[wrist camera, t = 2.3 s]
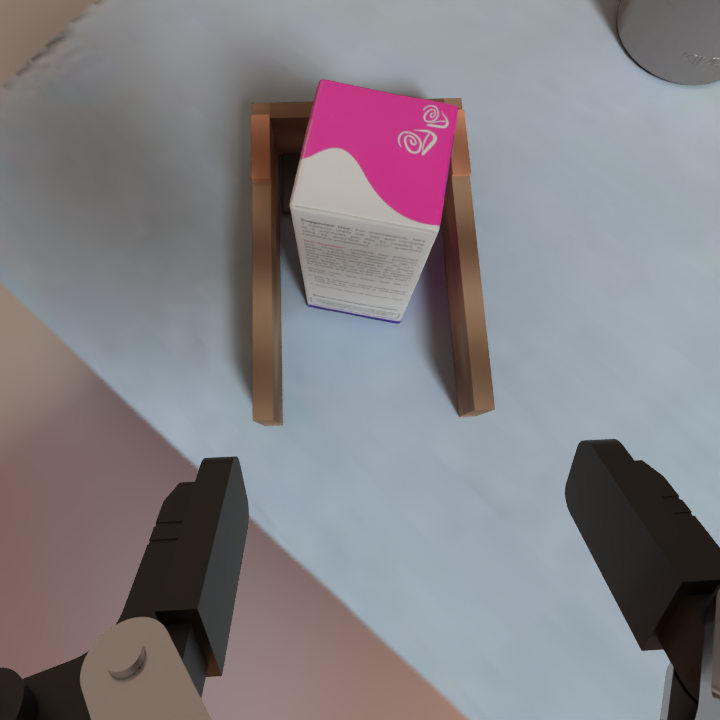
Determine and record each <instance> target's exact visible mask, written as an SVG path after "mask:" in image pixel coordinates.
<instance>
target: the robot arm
mask: <svg viewBox="0 0 720 720" xmlns="http://www.w3.org/2000/svg"><path fill="white" fill-rule="evenodd" d="M617 26H618V32H619V36H620V38H621V40H622V43H623V45H624V47H625V48H626V50H627V51H628V53H629V54H630V55H631V57H632V58H633V59H634V60H635V61H636V62H637V63H638V64H639V65H641V66H642V67H643V68H644V69H646V70H648V71H649V72H651V73H652V74H654V75H656V76H658V77H660V78H663V79H665V80H667V81H671V82H675V83H679V84H686V85H701V84H710V83H713V82H716V81H719V80H720V0H622V1H621V4H620V7H619V10H618V15H617ZM565 497H566V503H567V507H568V509H569V512H570V514H571V516H572V518H573V520H574V522H575V523H576V525H577V527H578V529H579V531H580V533H581V535H582V537H583V539H584V541H585V543H586V545H587V547H588V548H589V550H590V552H591V554H592V556H593V558H594V560H595V562H596V564H597V566H598V568H599V570H600V571H601V573H602V575H603V577H604V579H605V581H606V583H607V585H608V587H609V589H610V591H611V593H612V595H613V596H614V598H615V600H616V602H617V604H618V606H619V608H620V610H621V612H622V614H623V616H624V618H625V619H626V621H627V623H628V625H629V627H630V629H631V631H632V633H633V635H634V637H635V639H636V641H637V643H638V644H639V646H640V648H641V650H642V651H646V650H662V649H664V651H665V653H666V654H667V656H668V658H669V660H670V664H669V665H668V667H667V671H666V678H665V685H664V692H663V700H662V707H661V715H660V720H720V547H719V546H718V545H717V544H716V542H715V541H714V540H713V539H712V537H711V536H710V535H709V533H708V532H707V531H706V530H705V528H704V527H703V526H702V525H701V523H700V522H699V521H698V519H697V518H696V517H695V516H692V514H691V511H690V509H689V508H688V507H687V505H686V504H685V503H684V502H683V500H680V499H679V495H678V494H677V493H676V491H675V490H674V489H673V488H672V486H671V485H670V484H669V483H668V481H667V480H666V479H665V478H664V476H662V475H661V474H660V473H658V472H657V471H656V470H654V469H653V468H652V467H650V466H649V465H648V464H646V463H645V462H643V461H642V460H638V461H634V460H633V458H632V457H631V456H630V454H629V453H628V452H627V450H626V449H625V448H624V446H623V445H622V444H621V443H620V442H619V441H618V440H616V439H605V440H584V441H581V442H580V443H579V445H578V447H577V450H576V453H575V456H574V460H573V463H572V466H571V469H570V473H569V476H568V479H567V482H566V487H565ZM248 519H249V508H248V500H247V495H246V490H245V485H244V481H243V476H242V471H241V466H240V462H239V459H238V457H217V458H204V459H203V460H202V462H201V465H200V468H199V471H198V474H197V478H196V481H195V482H183V483H179V484H178V485H177V487H176V488H175V489H174V490H173V491H172V492H171V494H170V495H169V496H168V497H167V498H166V499H165V500H164V502H163V505H162V507H161V510H160V513H159V516H158V518H157V521H156V527H154V529H153V532H152V534H151V537H150V543H149V545H147V548H146V550H145V554H144V556H143V559H142V561H141V564H140V567H139V569H138V572H137V574H136V577H135V580H134V583H133V585H132V588H131V591H130V593H129V596H128V599H127V601H126V604H125V607H124V609H123V612H122V614H121V616H120V618H119V620H118V622H117V624H116V625H115V626H113V627H112V628H110V629H109V630H108V631H106V632H105V633H104V634H103V635H102V636H101V637H100V638H99V639H98V640H97V641H96V642H95V643H94V644H93V646H92V648H91V649H90V650H89V651H88V652H87V653H85V654H83V655H82V656H80V657H78V658H76V659H73V660H71V661H69V662H66V663H63V664H61V665H58V666H56V667H53V668H50V669H48V670H45V671H42V672H40V673H37V674H35V675H32V676H29V677H27V678H24V679H22V678H21V677H20V676H19V675H18V674H17V673H16V672H15V671H13V670H11V669H7V668H0V720H211V718H210V716H209V714H208V712H207V710H206V708H205V706H204V704H203V702H202V700H201V697H202V692H203V687H204V682H205V677H212V676H222V672H223V666H224V661H225V655H226V649H227V644H228V638H229V632H230V626H231V621H232V615H233V609H234V603H235V597H236V592H237V586H238V581H239V575H240V569H241V564H242V557H243V552H244V546H245V540H246V535H247V529H248Z"/></svg>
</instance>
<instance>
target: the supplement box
mask: <svg viewBox="0 0 720 720" xmlns="http://www.w3.org/2000/svg"><path fill="white" fill-rule="evenodd" d="M457 115H458V106H455V105H452V104H447V103H442V102H436V101H432V100H426V99H420V98H413V97H407V96H402V95H397V94H392V93H386V92H382V91H377V90H372V89H367V88H362V87H358V86H353V85H348V84H343V83H339V82H334V81H329V80H324V79H322V80H320V82H319V84H318V87H317V90H316V94H315V98H314V102H313V106H312V110H311V114H310V118H309V122H308V125H307V130H306V134H305V139H304V143H303V147H302V152H301V156H300V161H299V165H298V169H297V173H296V177H295V182H294V186H293V190H292V195H291V199H290V205H289V206H290V209H291V215H292V221H293V226H294V231H295V237H296V242H297V249H298V254H299V259H300V265H301V270H302V275H303V280H304V286H305V292H306V299H307V306H308V307H313V308H317V309H322V310H328V311H334V312H339V313H345V314H350V315H355V316H361V317H365V318H370V319H375V320H380V321H386V322H391V323H400V321H401V319H402V317H403V315H404V312H405V310H406V308H407V305H408V303H409V301H410V298H411V296H412V294H413V291H414V289H415V287H416V284H417V282H418V280H419V277H420V275H421V272H422V270H423V268H424V265H425V263H426V260H427V258H428V255H429V253H430V251H431V248H432V246H433V243H434V241H435V239H436V236H437V234H438V232H439V228H440V223H441V218H442V211H443V205H444V199H445V192H446V185H447V179H448V173H449V166H450V160H451V153H452V147H453V141H454V134H455V127H456V121H457Z"/></svg>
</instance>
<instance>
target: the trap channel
mask: <svg viewBox="0 0 720 720" xmlns="http://www.w3.org/2000/svg"><path fill="white" fill-rule="evenodd" d="M426 100H432V101H436V102H442V103H447V104H452V105H455V106H458V115H457V121H456V127H455V134H454V141H453V147H452V153H451V160H450V166H449V173H448V179H447V185H446V192H445V199H444V205H443V211H442V218H441V226H442V237H443V248H444V259H445V269H446V280H447V291H448V302H449V313H450V324H451V334H452V345H453V356H454V367H455V378H456V389H457V399H458V410H459V417H466V416H478V415H481V414H483V413H486V412H489V411H491V410H494V409H495V406H494V396H493V387H492V378H491V369H490V359H489V350H488V341H487V332H486V323H485V313H484V304H483V295H482V286H481V276H480V267H479V258H478V249H477V240H476V230H475V221H474V212H473V203H472V193H471V184H470V173H471V169H470V159H469V150H468V141H467V132H466V123H465V114H464V109H462V101H461V98H447V99H426ZM312 106H313V102H284V103H252V115H251V180H252V334H253V421H255V422H257V423H259V424H262V425H264V426H274V425H283V411H282V343H281V274H280V206H279V157H283V203H284V214H291V209H290V206H289V205H290V199H291V195H292V190H293V186H294V182H295V177H296V173H297V169H298V165H299V161H300V156H301V152H302V147H303V143H304V139H305V134H306V130H307V125H308V122H309V118H310V114H311V110H312Z"/></svg>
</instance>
